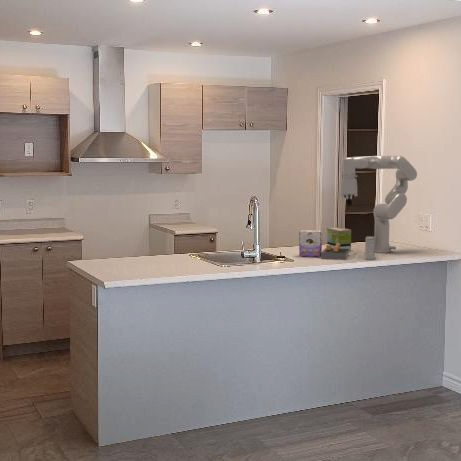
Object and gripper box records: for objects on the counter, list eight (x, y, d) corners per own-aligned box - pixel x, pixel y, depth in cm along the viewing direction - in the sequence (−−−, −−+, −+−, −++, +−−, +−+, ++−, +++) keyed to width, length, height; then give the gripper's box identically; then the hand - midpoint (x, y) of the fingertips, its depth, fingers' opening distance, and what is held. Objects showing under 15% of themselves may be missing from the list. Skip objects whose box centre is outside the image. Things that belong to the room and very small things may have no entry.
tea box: (326, 249, 494) (326, 227, 492) (338, 248, 498) (339, 227, 496) (338, 252, 480) (339, 230, 478) (351, 251, 484) (351, 229, 483)
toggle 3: (338, 250, 455) (338, 245, 455) (337, 251, 452) (337, 246, 452) (334, 250, 456) (334, 245, 455) (333, 251, 453) (333, 246, 452)
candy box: (322, 256, 464) (322, 230, 462) (320, 257, 458) (321, 231, 456) (300, 255, 468) (300, 229, 466) (299, 256, 462) (299, 230, 460)
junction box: (374, 256, 460) (375, 236, 458) (373, 259, 448) (374, 239, 446) (366, 256, 461) (366, 236, 460) (364, 259, 449) (365, 238, 448)
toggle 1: (330, 249, 462) (330, 244, 461) (330, 250, 459) (330, 245, 458) (326, 249, 462) (326, 244, 462) (326, 249, 459) (326, 244, 459)
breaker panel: (348, 255, 468) (348, 248, 467) (345, 259, 448) (345, 252, 448) (325, 254, 471) (325, 247, 471) (321, 258, 452) (321, 252, 452)
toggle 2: (340, 248, 466) (340, 243, 465) (339, 249, 463) (339, 244, 462) (336, 248, 466) (336, 243, 466) (335, 248, 463) (335, 244, 463)
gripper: (361, 176, 469) (361, 204, 471) (337, 176, 472) (338, 204, 474) (360, 177, 461) (360, 205, 464) (336, 177, 465) (337, 206, 467)
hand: (349, 205), depth 469 cm, fingers closed
